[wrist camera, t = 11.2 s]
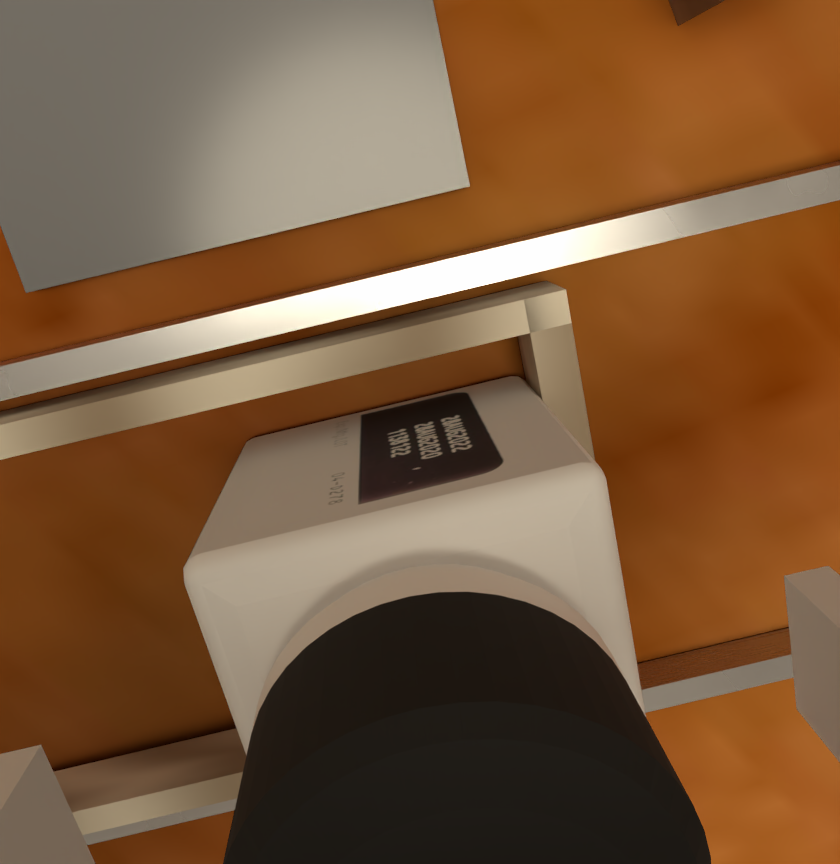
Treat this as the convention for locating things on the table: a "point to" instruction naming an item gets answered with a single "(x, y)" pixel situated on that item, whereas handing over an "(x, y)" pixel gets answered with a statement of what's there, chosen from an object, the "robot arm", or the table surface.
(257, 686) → the container
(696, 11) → the walnut cube
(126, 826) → the lanes
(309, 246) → the table surface
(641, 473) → the table surface
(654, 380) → the table surface
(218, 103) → the coaster
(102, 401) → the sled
